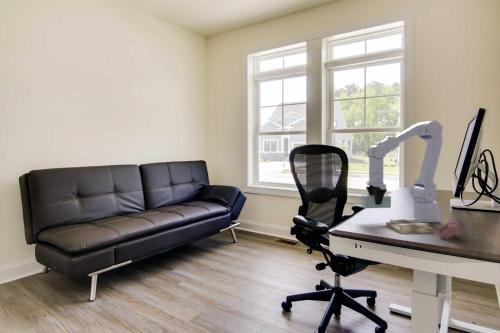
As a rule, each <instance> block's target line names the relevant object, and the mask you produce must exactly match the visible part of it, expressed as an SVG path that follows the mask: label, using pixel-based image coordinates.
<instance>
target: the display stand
mask: <svg viewBox="0 0 500 333" xmlns="http://www.w3.org/2000/svg"><path fill="white" fill-rule="evenodd" d="M385 223H386V224H385V226H386V227H388V229H391V230H393V231H395V232H397V233H399V234H424V233H425V234H427V233H429V234H430V233H434V228H433V227H430V226H429V225H430V224H429V222H418V219H410V218H403V219H402V218H398V219H397V218H396V219H395V218H393V219H392V218H390V219H389V221H386V222H385Z"/></svg>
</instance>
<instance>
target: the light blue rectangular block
mask: <svg viewBox="0 0 500 333" xmlns="http://www.w3.org/2000/svg"><path fill="white" fill-rule="evenodd" d="M391 199H392V196H391V195H387V194H384V197H383V200H382V204H381V205H376V203H375V196H374V195H369V194H361V207H363V208H364V209H391V208H392V206H391V205H392V200H391Z"/></svg>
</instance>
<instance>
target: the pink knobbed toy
mask: <svg viewBox="0 0 500 333" xmlns="http://www.w3.org/2000/svg"><path fill="white" fill-rule="evenodd" d="M438 232H439V236H438V237H439V238H440V239H442V240H446V239H449V238H450V239H452V238H453V236H455V235H456V234H457V235H458V234H459V233H460V228H459V223H458V222H457V221H455V220H449V221H447V223H445V225H442V226H440V228H438Z"/></svg>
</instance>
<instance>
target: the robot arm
mask: <svg viewBox="0 0 500 333" xmlns="http://www.w3.org/2000/svg"><path fill="white" fill-rule="evenodd" d="M443 129H444V127H443V126H442V124H441V123H440V122H439V121H438V120H435V119H434V120H433V119H432V120H428V121H419V122H417V123H416V124H413V125H411V126H410V127H408V128H407V129H405V130H404V131H402V132H401V133H399V134H397V135H396V136H394V135H387V136H385V138H384V139H383V140H382V141H378V142H376V145H371V146H369V147H368V149H367V151H366V155H367V157H368V162H369V163H368V180H367V181H366V183H365V184H366V185H367V186H365V189H366V190H367V194H368V195H374V196H375V203H376V205H381V204H382V200H383V197H384V195H386V192H387V191H388V189H387V184H385V182H384V158H385V157H386V155H387V154H389V153H390V152H392V151H394V150H396V149H398V148H399V147H400V144H401V143H403V142H405V141H407V140H408V139H410V138H413V137H414V136H418V137H419V138H420V139H422V140H423V141H424V142H425V143H426V149H425V152H424V157H423V161H422V164H421V168H420V173H419V176H418V178H417V179H416V180H415V181H414V183H413V185H412V187H410V191H409V192H410V195H411V197H412V200H413V209H412V210H413V212H412V214H413V215H412V216H411V217H408V219H418V222H419V223H441V220H440V205H439V203H438V202H437V201H436V200H435V199H436V198H437V185H436V183H435V181H434V178H435V174H436V170H437V166H438V162H439V158H440V154H441V150H442V146H443V141H444V140H443V134H442V133H443Z"/></svg>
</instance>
